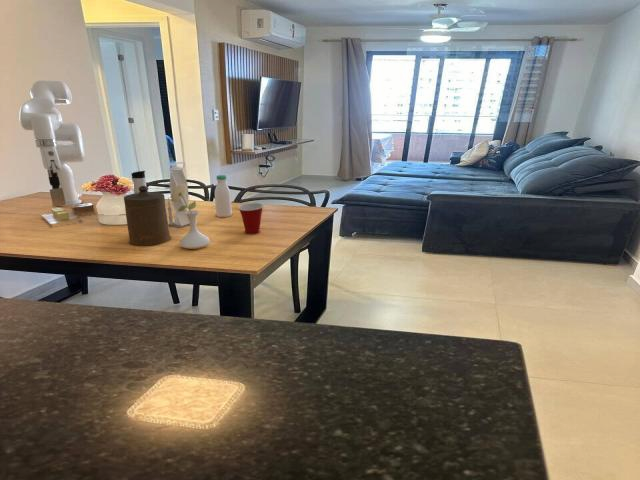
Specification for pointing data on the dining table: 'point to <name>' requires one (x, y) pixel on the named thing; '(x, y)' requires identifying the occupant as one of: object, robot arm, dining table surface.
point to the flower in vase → (194, 236)
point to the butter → (57, 211)
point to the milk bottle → (222, 197)
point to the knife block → (82, 208)
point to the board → (53, 220)
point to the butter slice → (62, 215)
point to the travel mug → (138, 180)
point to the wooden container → (146, 217)
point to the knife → (57, 196)
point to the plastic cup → (251, 216)
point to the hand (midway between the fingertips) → (55, 185)
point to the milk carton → (180, 216)
